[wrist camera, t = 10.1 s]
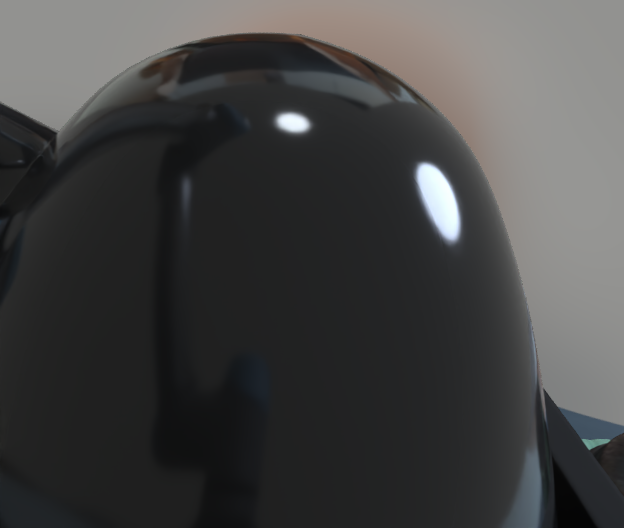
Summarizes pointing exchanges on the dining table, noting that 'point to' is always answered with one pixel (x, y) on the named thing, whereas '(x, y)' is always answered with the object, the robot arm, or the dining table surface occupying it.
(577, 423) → the dining table surface
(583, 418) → the dining table surface
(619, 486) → the black green hat
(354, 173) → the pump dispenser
